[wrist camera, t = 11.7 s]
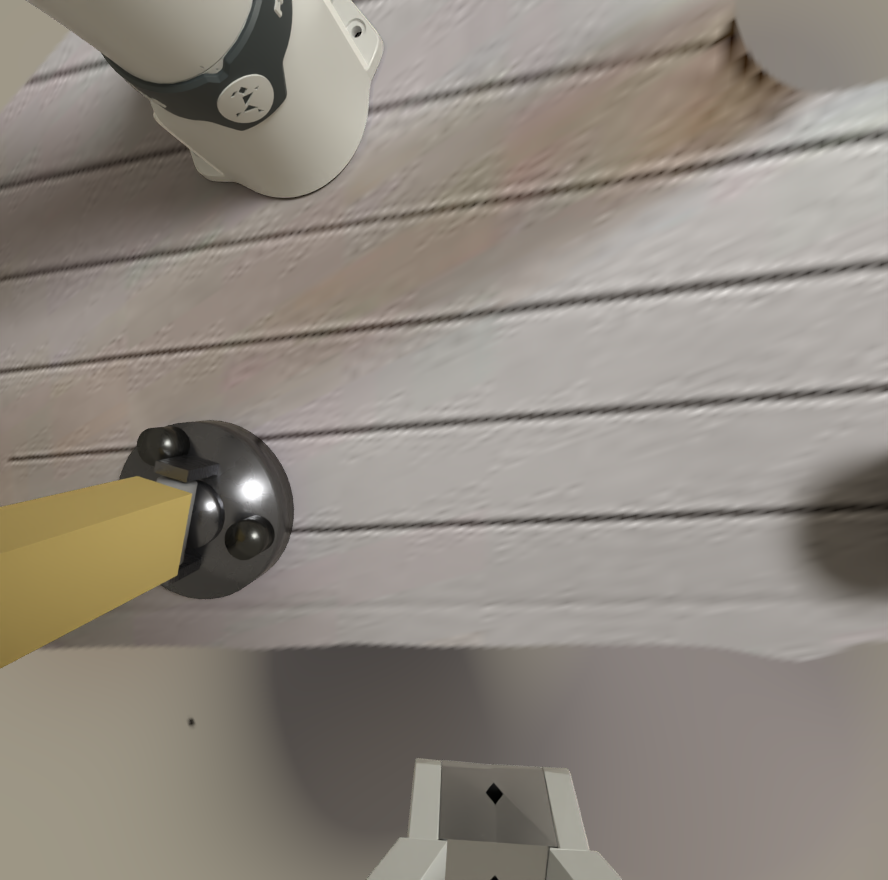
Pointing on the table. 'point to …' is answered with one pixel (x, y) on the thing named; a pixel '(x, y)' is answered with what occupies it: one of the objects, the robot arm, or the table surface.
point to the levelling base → (220, 502)
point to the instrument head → (86, 555)
